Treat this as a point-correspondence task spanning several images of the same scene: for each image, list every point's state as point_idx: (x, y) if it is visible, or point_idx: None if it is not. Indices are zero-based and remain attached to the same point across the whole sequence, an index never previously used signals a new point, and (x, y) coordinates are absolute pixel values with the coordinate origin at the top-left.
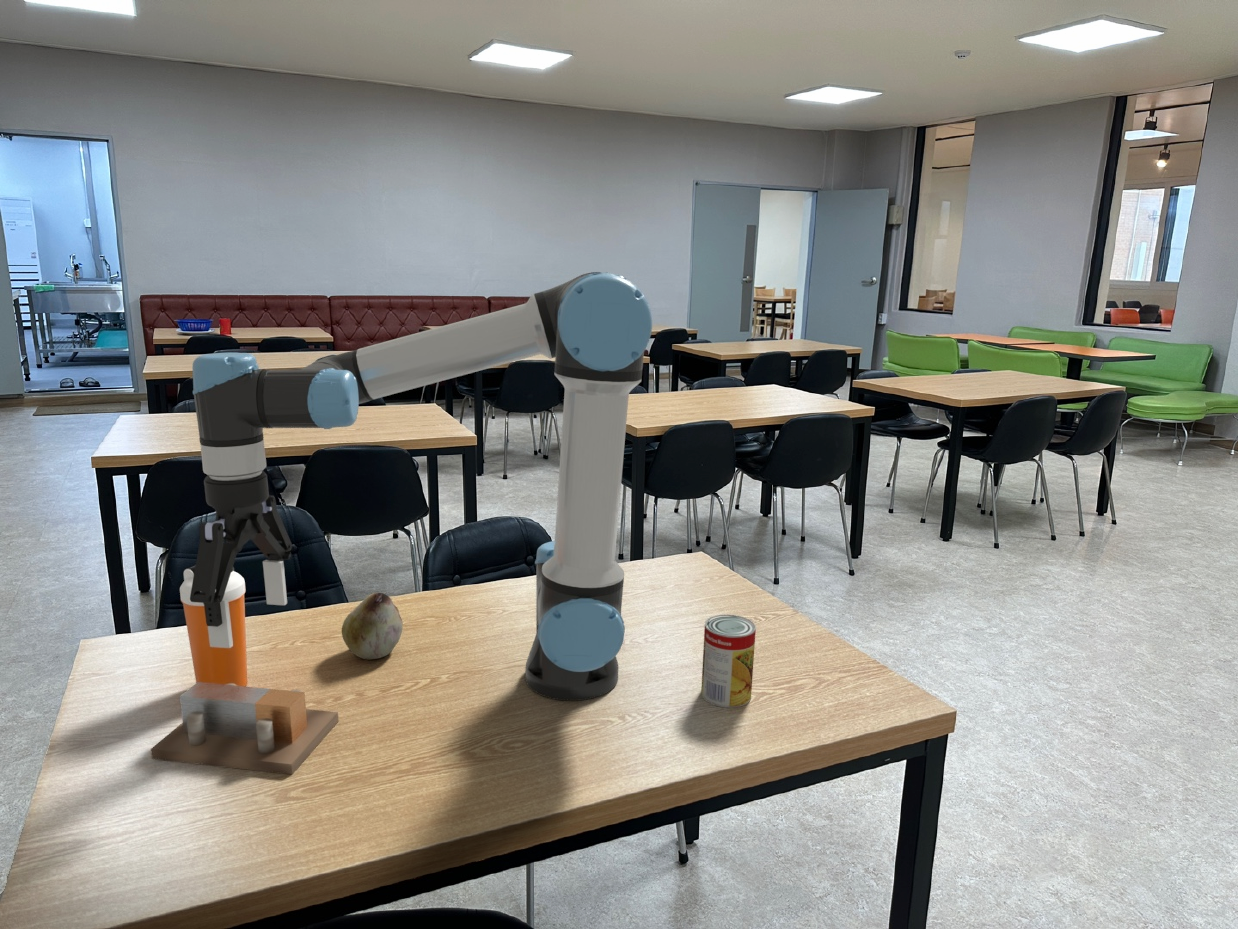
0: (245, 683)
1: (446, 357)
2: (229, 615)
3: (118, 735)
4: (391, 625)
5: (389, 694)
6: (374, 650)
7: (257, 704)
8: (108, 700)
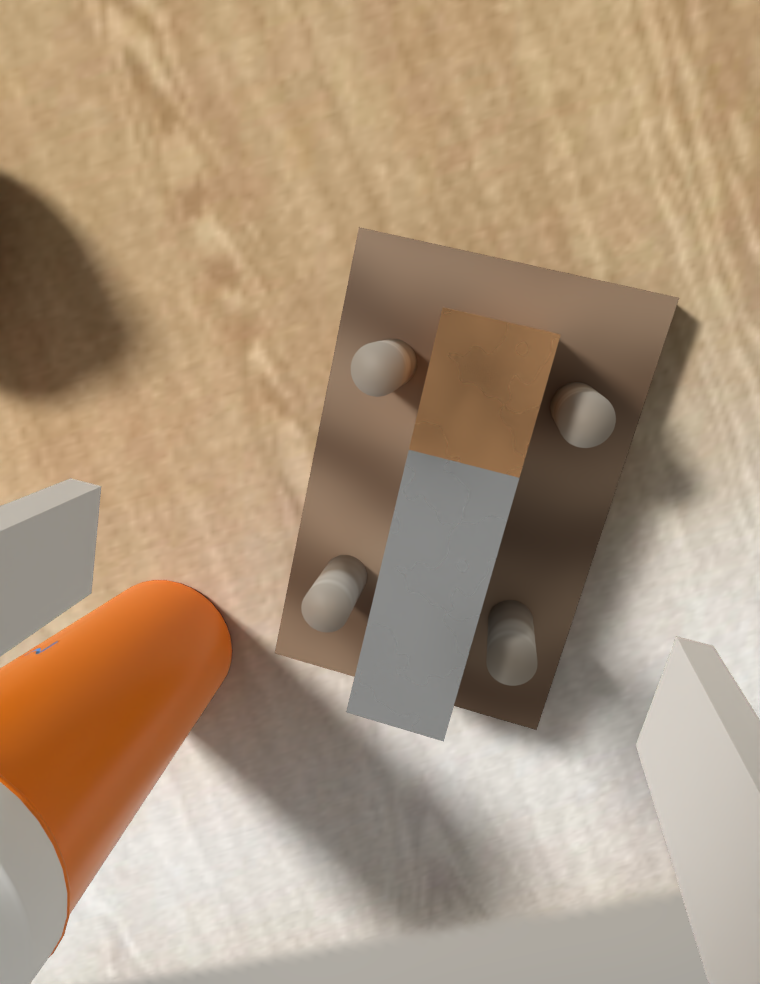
0: (161, 584)
1: None
2: (746, 767)
3: (410, 821)
4: None
5: (190, 88)
6: None
7: (521, 467)
8: (242, 891)
